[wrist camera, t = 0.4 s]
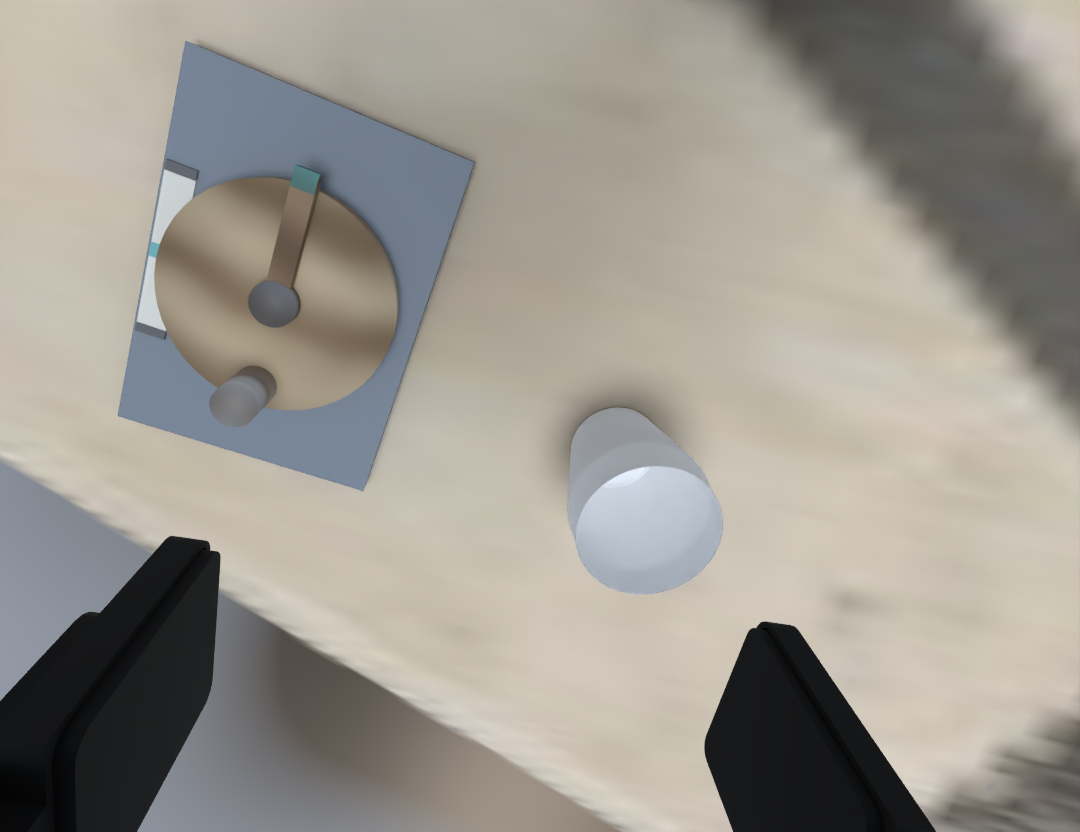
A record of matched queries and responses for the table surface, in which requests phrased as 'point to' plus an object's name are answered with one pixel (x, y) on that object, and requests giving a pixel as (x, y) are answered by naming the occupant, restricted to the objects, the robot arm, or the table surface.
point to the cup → (639, 505)
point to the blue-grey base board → (348, 174)
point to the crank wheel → (275, 294)
